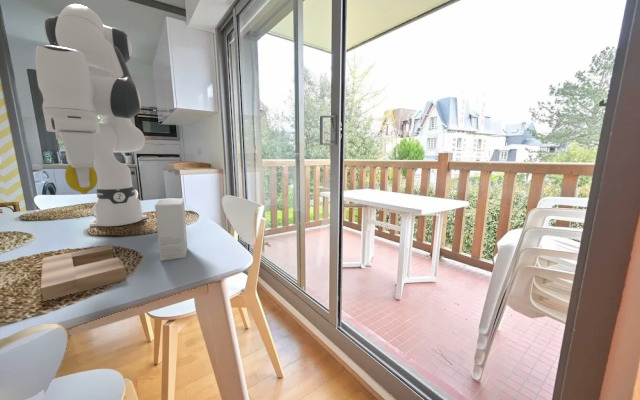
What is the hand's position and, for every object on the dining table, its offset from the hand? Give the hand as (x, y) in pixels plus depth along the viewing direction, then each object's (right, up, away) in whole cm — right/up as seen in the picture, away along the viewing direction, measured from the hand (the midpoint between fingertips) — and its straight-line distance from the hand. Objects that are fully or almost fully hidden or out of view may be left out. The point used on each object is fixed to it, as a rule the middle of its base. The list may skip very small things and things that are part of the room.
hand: (83, 185), depth 61 cm
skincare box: (+15, -19, +13) cm, 27 cm away
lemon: (0, -2, 0) cm, 2 cm away
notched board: (0, -21, +1) cm, 21 cm away
